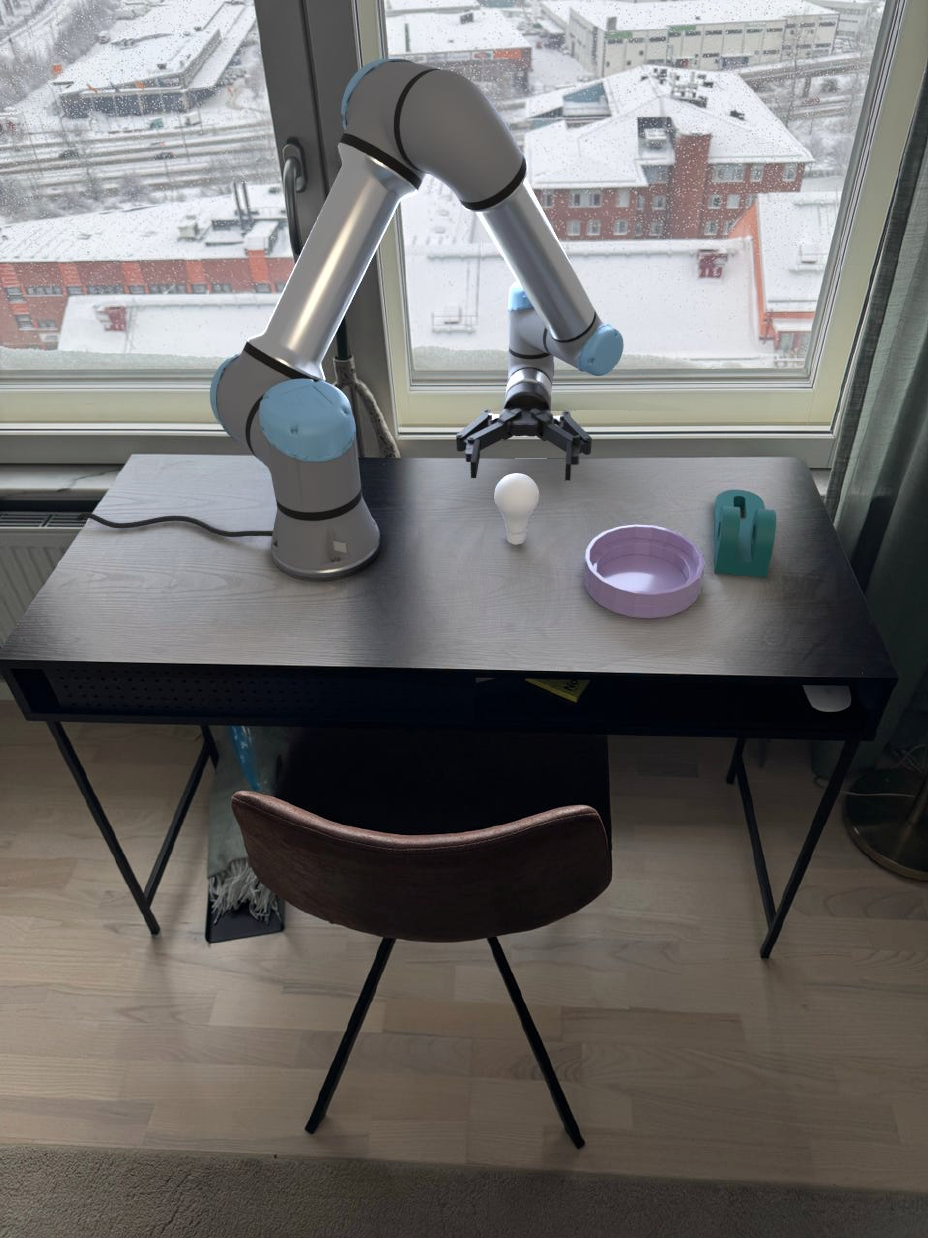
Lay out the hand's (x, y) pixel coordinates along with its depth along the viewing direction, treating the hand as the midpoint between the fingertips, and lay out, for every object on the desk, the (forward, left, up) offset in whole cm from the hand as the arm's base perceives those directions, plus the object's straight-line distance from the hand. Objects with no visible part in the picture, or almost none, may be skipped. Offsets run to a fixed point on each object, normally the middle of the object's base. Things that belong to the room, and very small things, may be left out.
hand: (520, 471), depth 134 cm
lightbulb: (+3, -8, -7) cm, 11 cm away
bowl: (+22, -10, -7) cm, 25 cm away
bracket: (+31, +6, -7) cm, 32 cm away
